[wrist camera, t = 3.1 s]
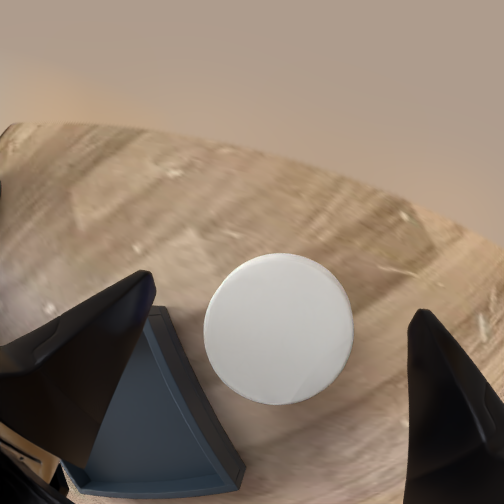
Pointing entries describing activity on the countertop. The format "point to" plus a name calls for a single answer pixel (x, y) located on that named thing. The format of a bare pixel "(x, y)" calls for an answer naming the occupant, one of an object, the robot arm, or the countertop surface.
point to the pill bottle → (279, 329)
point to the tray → (159, 429)
